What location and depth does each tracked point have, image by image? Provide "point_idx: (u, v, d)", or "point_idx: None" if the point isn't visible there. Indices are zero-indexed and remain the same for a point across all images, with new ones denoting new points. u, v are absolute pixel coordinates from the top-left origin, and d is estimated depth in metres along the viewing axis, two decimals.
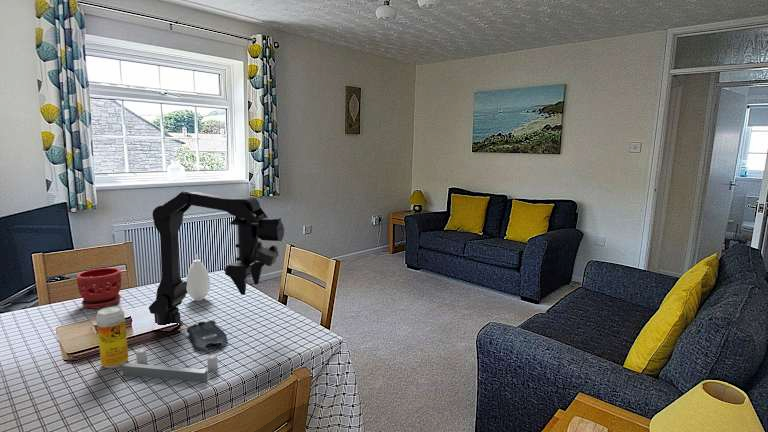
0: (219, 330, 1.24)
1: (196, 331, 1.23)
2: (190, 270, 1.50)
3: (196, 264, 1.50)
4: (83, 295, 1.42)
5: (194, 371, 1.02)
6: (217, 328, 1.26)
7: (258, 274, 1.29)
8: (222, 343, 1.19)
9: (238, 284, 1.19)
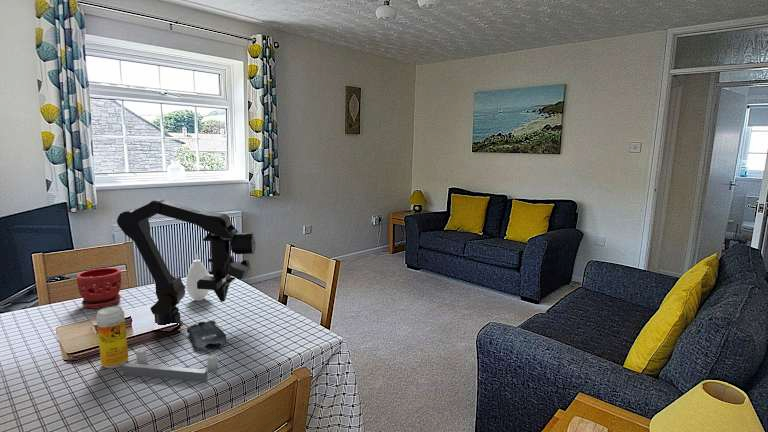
0: (219, 330, 1.24)
1: (195, 331, 1.23)
2: (190, 270, 1.50)
3: (196, 264, 1.50)
4: (83, 295, 1.42)
5: (194, 371, 1.02)
6: (217, 328, 1.26)
7: (225, 291, 1.31)
8: (221, 343, 1.19)
9: (218, 292, 1.30)
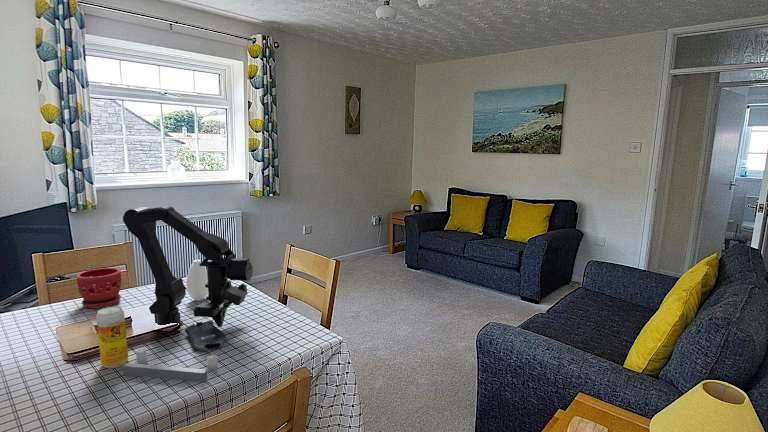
0: (217, 330, 1.24)
1: (194, 331, 1.23)
2: (190, 270, 1.50)
3: (196, 264, 1.50)
4: (83, 295, 1.42)
5: (194, 371, 1.02)
6: (215, 328, 1.25)
7: None
8: (221, 343, 1.19)
9: (215, 317, 1.28)
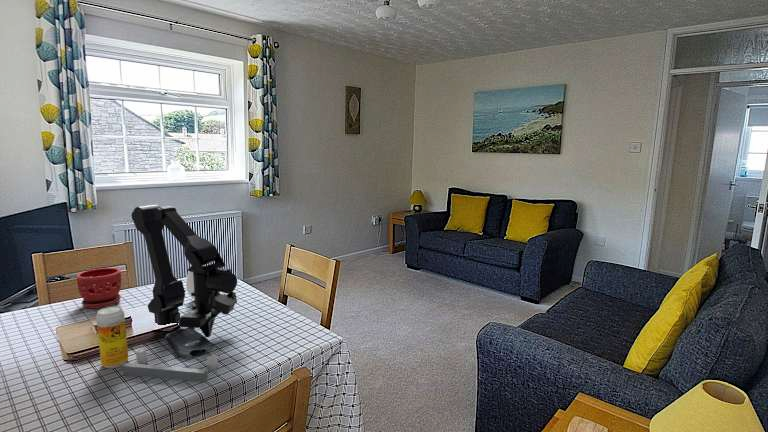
0: (201, 336, 1.20)
1: (176, 338, 1.19)
2: None
3: None
4: (83, 295, 1.42)
5: (194, 371, 1.02)
6: (198, 334, 1.22)
7: None
8: (206, 349, 1.15)
9: (202, 327, 1.21)
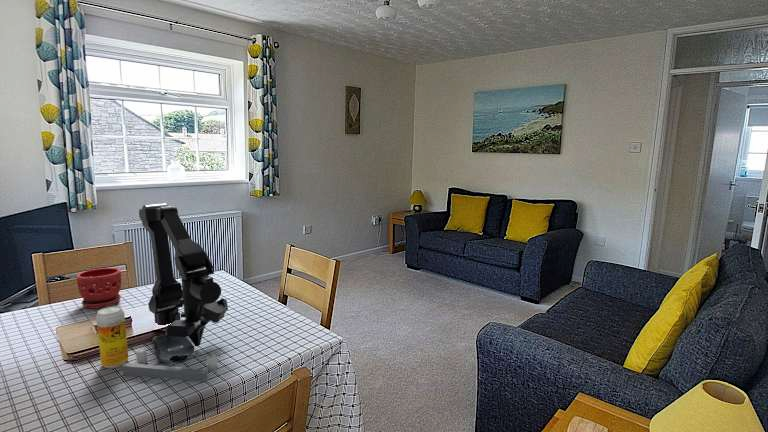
0: (186, 341, 1.17)
1: (161, 342, 1.16)
2: None
3: None
4: (83, 295, 1.42)
5: (194, 371, 1.02)
6: (185, 339, 1.18)
7: None
8: (188, 355, 1.12)
9: (191, 336, 1.16)
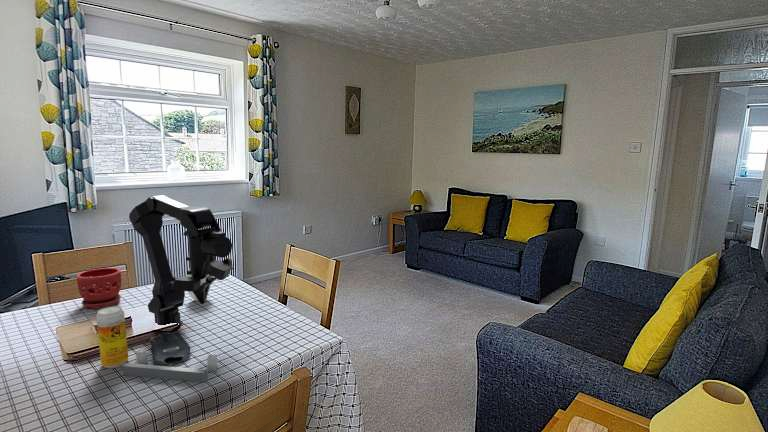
0: (183, 342, 1.17)
1: (158, 343, 1.16)
2: None
3: None
4: (83, 295, 1.42)
5: (194, 371, 1.02)
6: (181, 340, 1.18)
7: (205, 293, 1.20)
8: (183, 357, 1.11)
9: (197, 293, 1.18)
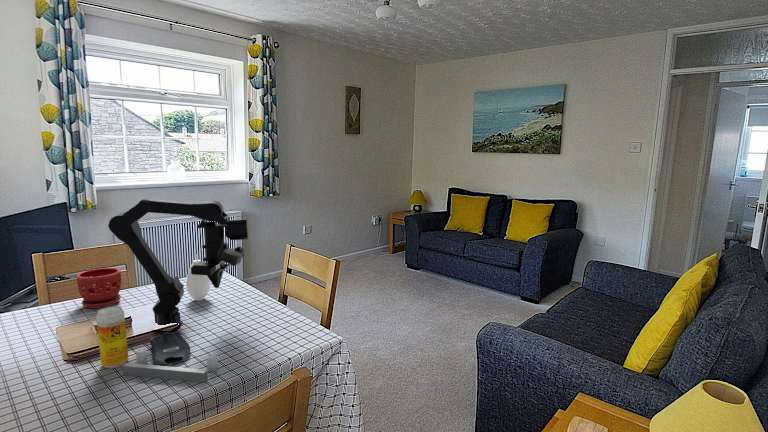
0: (183, 342, 1.17)
1: (158, 343, 1.16)
2: (190, 270, 1.50)
3: None
4: (83, 295, 1.42)
5: (194, 371, 1.02)
6: (181, 340, 1.18)
7: (219, 278, 1.33)
8: (183, 357, 1.11)
9: (212, 278, 1.31)
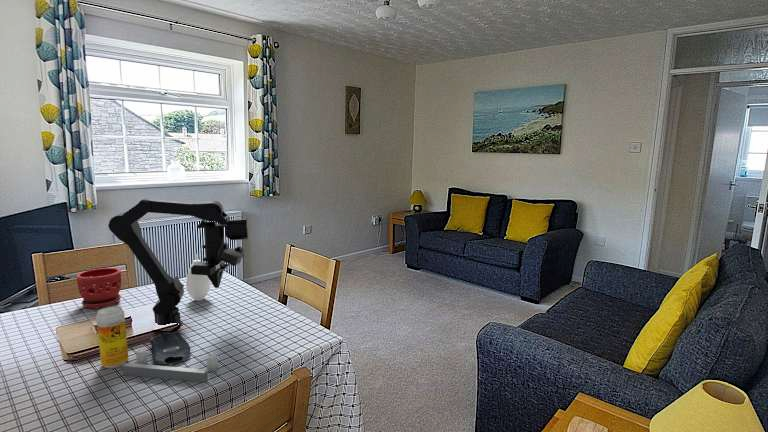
0: (183, 342, 1.17)
1: (158, 343, 1.16)
2: (190, 270, 1.50)
3: None
4: (83, 295, 1.42)
5: (194, 371, 1.02)
6: (181, 340, 1.18)
7: (219, 278, 1.33)
8: (184, 357, 1.11)
9: (212, 278, 1.31)
